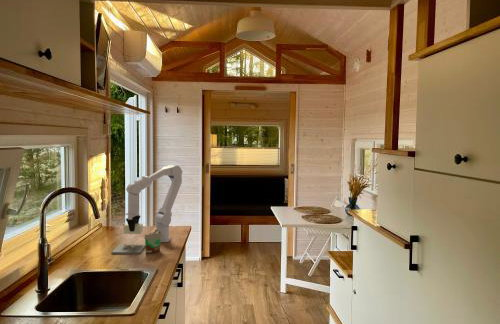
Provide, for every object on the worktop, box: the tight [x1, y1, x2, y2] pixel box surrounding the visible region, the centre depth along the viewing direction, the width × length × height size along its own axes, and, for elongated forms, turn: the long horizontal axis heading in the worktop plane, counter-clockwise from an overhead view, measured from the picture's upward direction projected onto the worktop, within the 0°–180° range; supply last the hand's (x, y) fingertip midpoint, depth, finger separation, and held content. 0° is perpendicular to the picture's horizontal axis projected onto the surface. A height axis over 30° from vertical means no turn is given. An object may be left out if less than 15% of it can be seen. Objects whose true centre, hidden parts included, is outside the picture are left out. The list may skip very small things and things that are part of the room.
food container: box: [144, 229, 162, 255], centre depth 192 cm, size 12×6×10 cm, turn 168°
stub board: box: [111, 243, 146, 255], centre depth 193 cm, size 14×14×3 cm
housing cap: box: [123, 222, 144, 235], centre depth 202 cm, size 5×9×4 cm, turn 93°
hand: (133, 230), depth 202 cm, fingers closed on housing cap, 5 cm apart
